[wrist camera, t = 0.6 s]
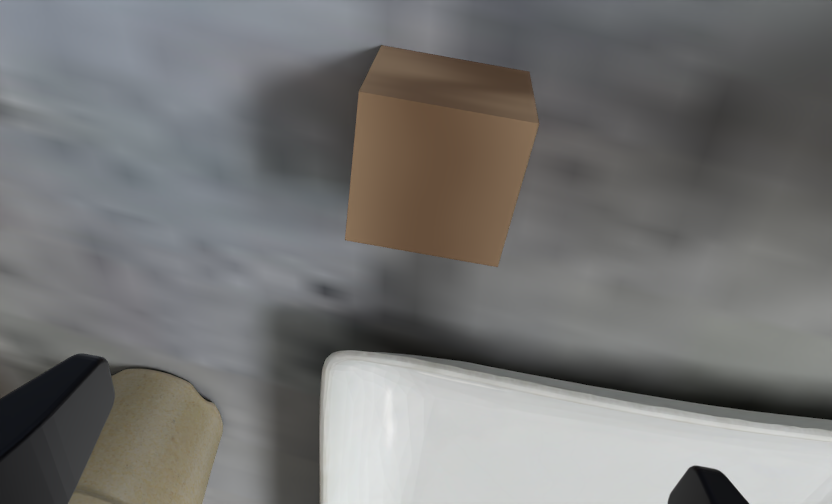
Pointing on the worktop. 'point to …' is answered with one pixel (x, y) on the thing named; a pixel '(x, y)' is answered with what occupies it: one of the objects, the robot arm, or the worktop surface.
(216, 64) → the worktop surface
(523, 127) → the walnut block
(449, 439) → the square plate
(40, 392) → the robot arm
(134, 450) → the flower pot
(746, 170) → the worktop surface
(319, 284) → the worktop surface
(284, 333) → the worktop surface
